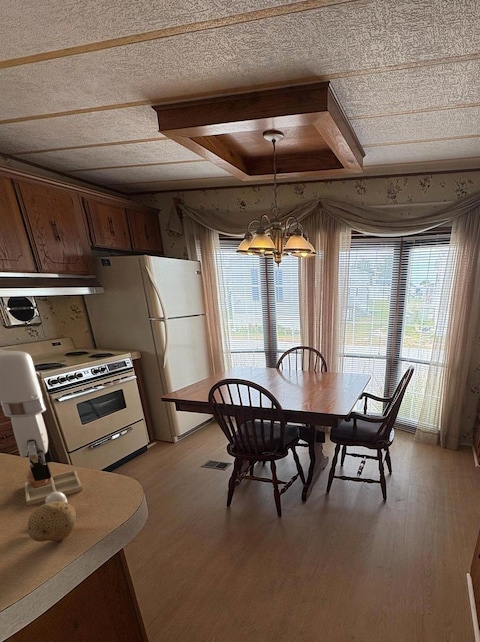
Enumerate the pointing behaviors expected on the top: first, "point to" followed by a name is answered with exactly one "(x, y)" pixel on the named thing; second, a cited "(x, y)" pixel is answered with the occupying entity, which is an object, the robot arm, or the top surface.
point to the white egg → (56, 497)
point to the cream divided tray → (53, 487)
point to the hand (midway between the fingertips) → (44, 470)
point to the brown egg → (35, 483)
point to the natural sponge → (51, 522)
